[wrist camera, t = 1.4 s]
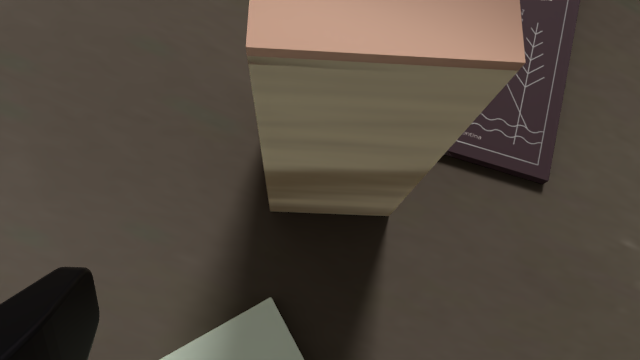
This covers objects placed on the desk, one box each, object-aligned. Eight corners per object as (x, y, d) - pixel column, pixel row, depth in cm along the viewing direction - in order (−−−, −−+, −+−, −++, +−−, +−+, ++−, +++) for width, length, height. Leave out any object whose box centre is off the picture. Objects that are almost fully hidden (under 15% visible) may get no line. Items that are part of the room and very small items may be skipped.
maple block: (388, 216, 22) (525, 62, 9) (270, 211, 21) (245, 47, 9) (387, 107, 23) (504, -154, 11) (276, 101, 23) (262, -172, 10)
